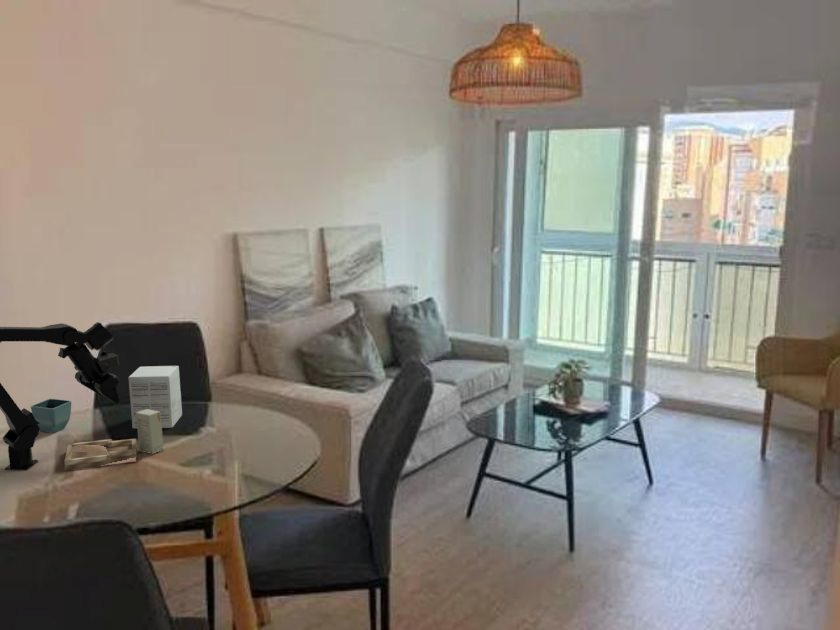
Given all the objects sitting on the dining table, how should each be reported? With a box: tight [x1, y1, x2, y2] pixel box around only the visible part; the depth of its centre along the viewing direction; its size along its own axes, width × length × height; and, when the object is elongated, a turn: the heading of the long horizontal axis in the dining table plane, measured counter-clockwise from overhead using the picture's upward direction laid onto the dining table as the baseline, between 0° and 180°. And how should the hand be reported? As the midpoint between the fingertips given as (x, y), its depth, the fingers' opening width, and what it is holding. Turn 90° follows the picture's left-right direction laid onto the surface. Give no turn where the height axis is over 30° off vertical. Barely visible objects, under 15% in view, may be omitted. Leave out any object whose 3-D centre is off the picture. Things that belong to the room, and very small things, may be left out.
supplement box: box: [128, 365, 183, 429], centre depth 259 cm, size 13×13×18 cm
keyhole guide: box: [63, 438, 138, 472], centre depth 230 cm, size 19×16×3 cm
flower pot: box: [30, 398, 72, 434], centre depth 252 cm, size 9×9×9 cm
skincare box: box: [136, 409, 165, 453], centre depth 233 cm, size 6×4×12 cm
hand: (111, 399), depth 240 cm, fingers open, 9 cm apart
